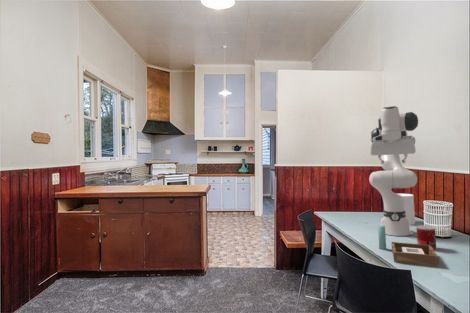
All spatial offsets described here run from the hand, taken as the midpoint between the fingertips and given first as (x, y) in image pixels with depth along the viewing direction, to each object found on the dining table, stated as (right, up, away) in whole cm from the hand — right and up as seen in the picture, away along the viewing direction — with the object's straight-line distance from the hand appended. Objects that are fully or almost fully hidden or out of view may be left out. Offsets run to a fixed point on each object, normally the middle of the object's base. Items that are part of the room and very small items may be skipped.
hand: (392, 163), depth 139 cm
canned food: (+16, -44, -3) cm, 46 cm away
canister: (+37, -44, +52) cm, 78 cm away
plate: (0, -43, -16) cm, 46 cm away
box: (0, -44, -16) cm, 47 cm away
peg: (-6, -45, -2) cm, 45 cm away
